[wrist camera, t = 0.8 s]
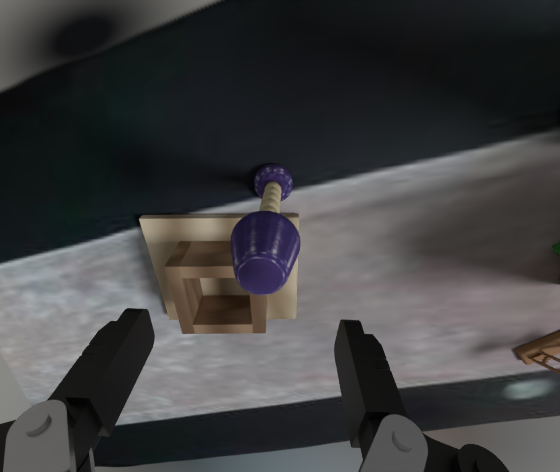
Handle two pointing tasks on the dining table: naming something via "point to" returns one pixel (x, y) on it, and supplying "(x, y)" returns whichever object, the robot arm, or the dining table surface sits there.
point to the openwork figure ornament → (541, 350)
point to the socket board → (210, 275)
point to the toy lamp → (266, 236)
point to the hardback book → (556, 250)
